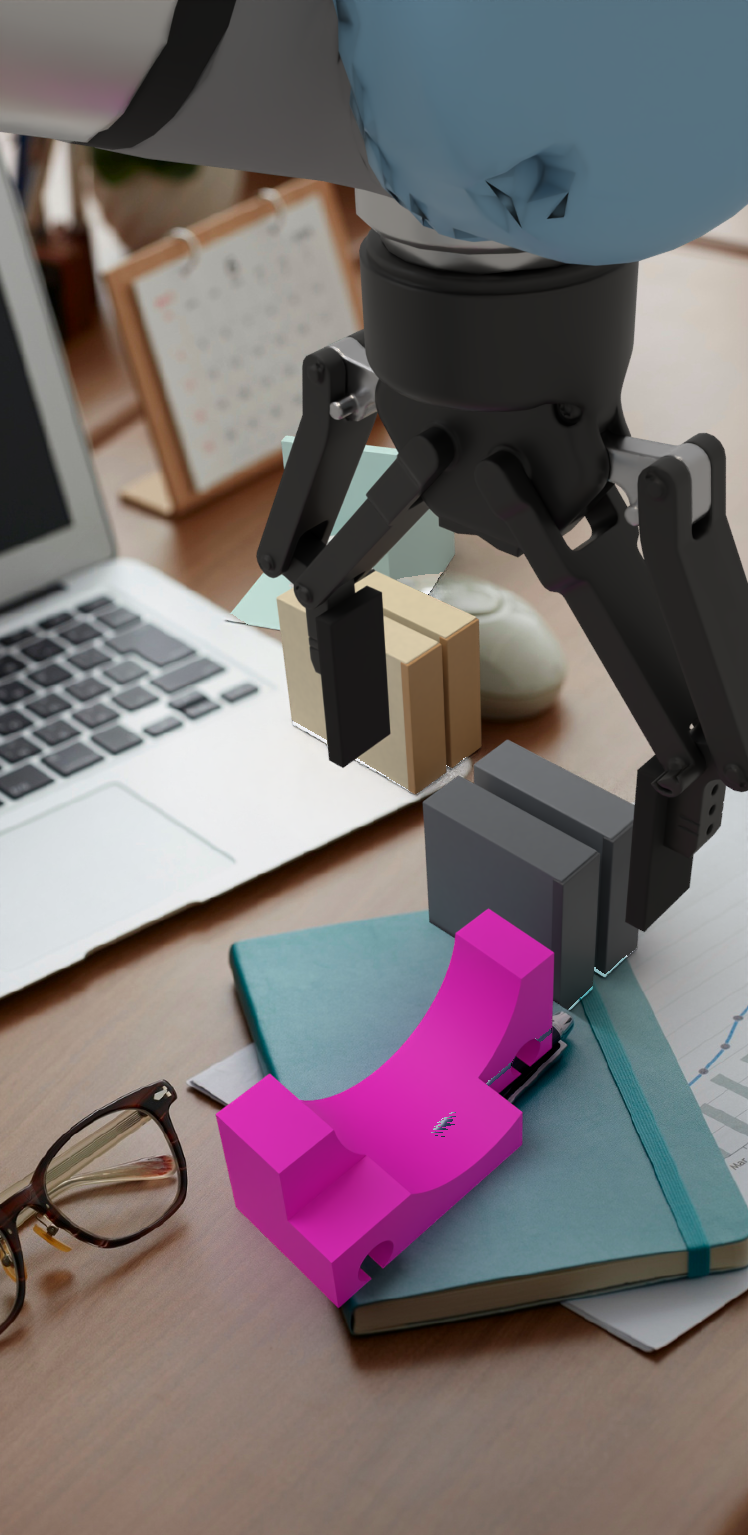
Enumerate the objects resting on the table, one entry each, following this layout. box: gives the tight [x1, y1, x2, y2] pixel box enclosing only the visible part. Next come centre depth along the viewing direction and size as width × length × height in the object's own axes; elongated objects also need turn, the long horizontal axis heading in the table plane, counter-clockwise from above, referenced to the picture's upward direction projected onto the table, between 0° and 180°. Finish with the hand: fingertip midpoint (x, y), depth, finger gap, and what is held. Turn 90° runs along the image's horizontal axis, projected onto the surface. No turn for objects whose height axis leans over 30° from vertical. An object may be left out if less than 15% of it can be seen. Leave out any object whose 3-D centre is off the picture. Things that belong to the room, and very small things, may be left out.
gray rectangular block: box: [422, 775, 600, 1011], centre depth 66 cm, size 3×8×9 cm, turn 46°
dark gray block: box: [473, 739, 640, 974], centre depth 68 cm, size 3×8×9 cm, turn 46°
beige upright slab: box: [355, 569, 482, 769], centre depth 81 cm, size 3×10×9 cm, turn 46°
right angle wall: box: [229, 435, 456, 631], centre depth 94 cm, size 12×12×8 cm
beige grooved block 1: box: [276, 587, 448, 796], centre depth 79 cm, size 3×10×9 cm, turn 46°
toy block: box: [215, 909, 554, 1309], centre depth 58 cm, size 15×6×8 cm, turn 133°
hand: (498, 821), depth 51 cm, fingers open, 13 cm apart
